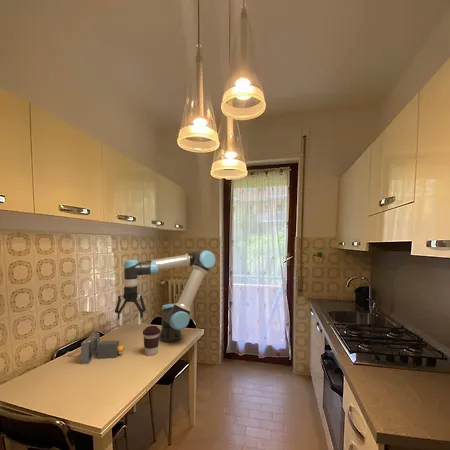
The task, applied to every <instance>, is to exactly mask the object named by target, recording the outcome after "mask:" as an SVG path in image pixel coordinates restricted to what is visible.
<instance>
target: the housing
mask: <svg viewBox="0 0 450 450" xmlns="http://www.w3.org/2000/svg"><path fill="white" fill-rule="evenodd" d="M100 342H101V341H100V332H97V333H95V332H93V333H91V334H90V335H89V336H88V337H87V338H86V339H84V340H83V341H82V342H81V343H80V345H81V346H80V351H81V355H80V365H88V364H90V363H91V361H92V357H93V356H94V355H95V356H98V344H99V343H100Z"/></svg>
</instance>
